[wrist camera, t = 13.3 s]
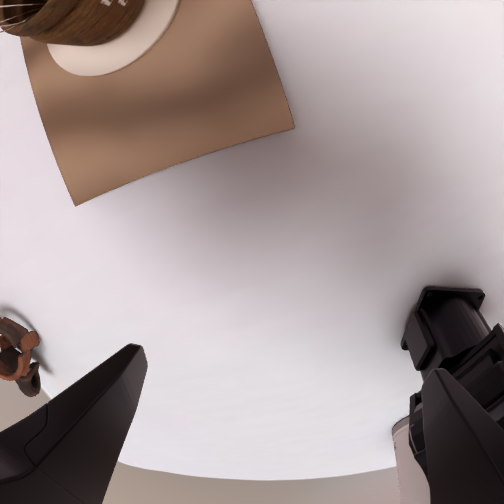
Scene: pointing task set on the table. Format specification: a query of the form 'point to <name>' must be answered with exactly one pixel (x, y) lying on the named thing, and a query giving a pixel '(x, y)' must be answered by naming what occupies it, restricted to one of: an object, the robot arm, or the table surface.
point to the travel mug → (409, 468)
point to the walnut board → (156, 93)
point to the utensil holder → (69, 20)
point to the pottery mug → (19, 357)
